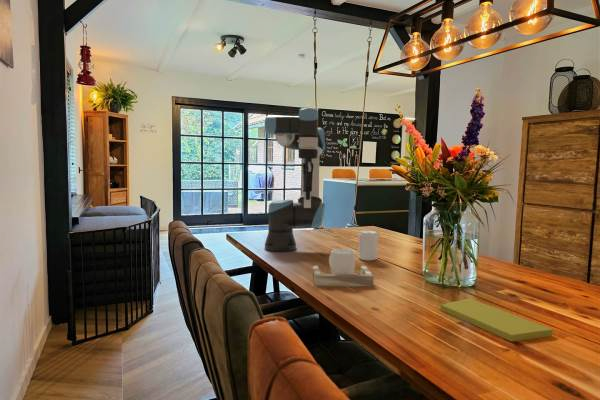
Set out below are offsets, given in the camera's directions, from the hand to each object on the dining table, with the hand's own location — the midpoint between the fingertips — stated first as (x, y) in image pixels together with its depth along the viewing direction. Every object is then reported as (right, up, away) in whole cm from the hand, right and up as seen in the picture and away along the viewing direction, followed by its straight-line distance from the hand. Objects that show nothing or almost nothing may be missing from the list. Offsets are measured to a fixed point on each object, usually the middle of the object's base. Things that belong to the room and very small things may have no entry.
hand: (307, 207), depth 156 cm
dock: (+12, -25, -18) cm, 34 cm away
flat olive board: (+48, -30, -53) cm, 78 cm away
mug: (+11, -25, -16) cm, 32 cm away
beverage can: (+26, -23, +12) cm, 37 cm away
